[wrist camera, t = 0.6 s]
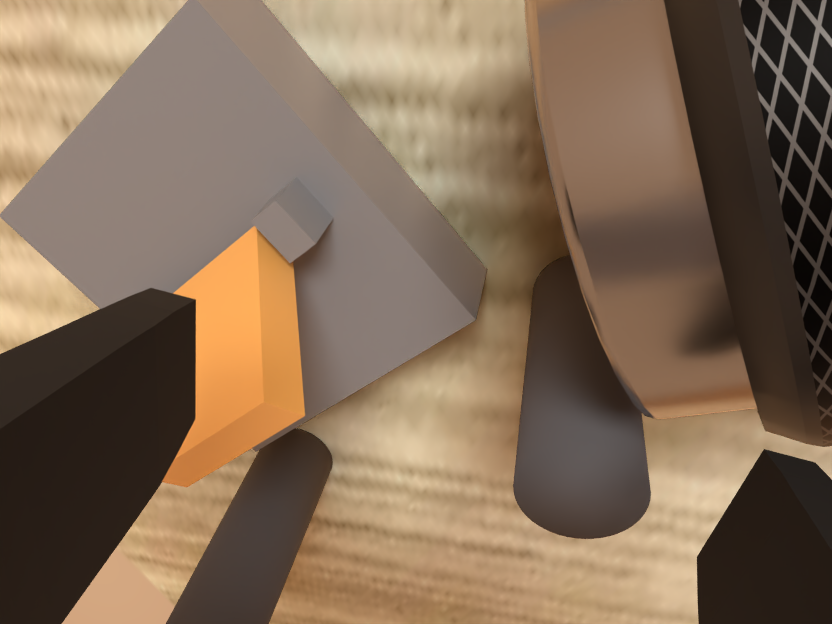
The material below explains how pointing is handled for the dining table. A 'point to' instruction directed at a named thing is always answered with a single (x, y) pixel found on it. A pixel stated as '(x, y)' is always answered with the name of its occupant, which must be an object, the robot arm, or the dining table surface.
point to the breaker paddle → (241, 356)
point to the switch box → (252, 198)
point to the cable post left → (258, 535)
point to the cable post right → (576, 422)
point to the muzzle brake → (697, 196)
